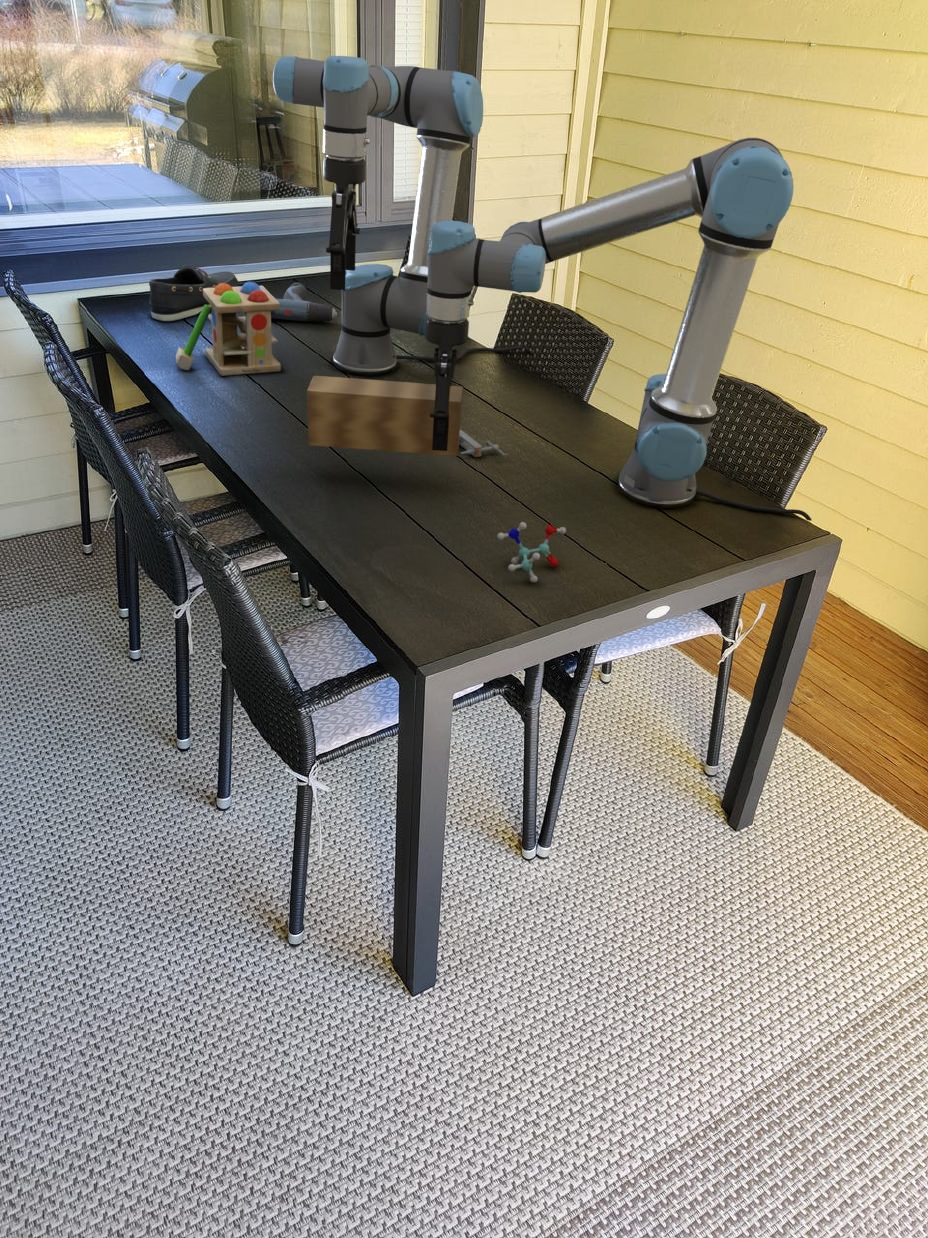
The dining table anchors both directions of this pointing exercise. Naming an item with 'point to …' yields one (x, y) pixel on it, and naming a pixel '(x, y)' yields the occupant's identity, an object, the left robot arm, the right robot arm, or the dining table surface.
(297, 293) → the power drill
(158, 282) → the boat shoe
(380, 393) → the box
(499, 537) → the molecular model
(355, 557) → the dining table surface
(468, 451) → the clamp
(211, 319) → the pounding bench toy
